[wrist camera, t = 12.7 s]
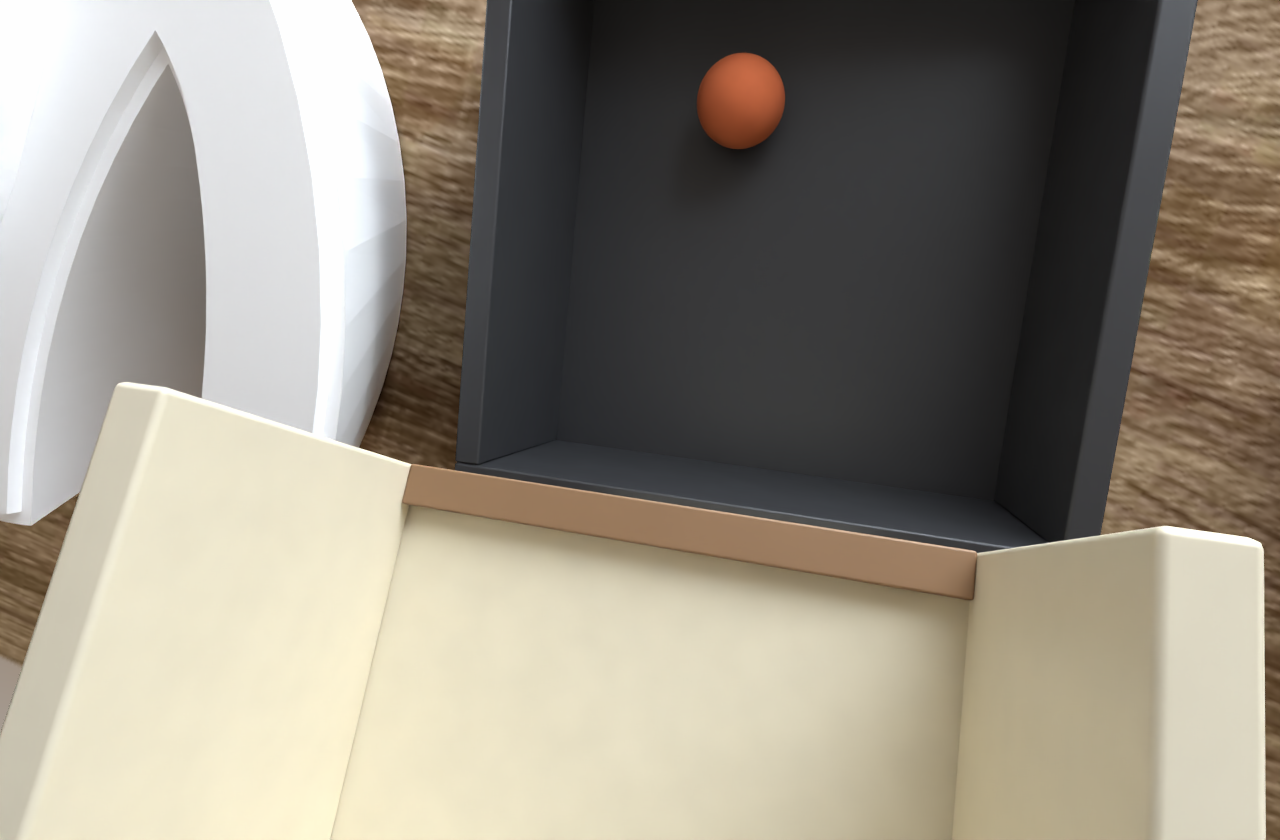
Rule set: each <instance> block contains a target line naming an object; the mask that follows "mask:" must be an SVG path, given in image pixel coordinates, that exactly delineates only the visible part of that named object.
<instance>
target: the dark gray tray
mask: <svg viewBox="0 0 1280 840" xmlns="http://www.w3.org/2000/svg"><path fill="white" fill-rule="evenodd" d="M1197 1H1198V0H487V8H486V23H485V37H484V52H483V66H482V81H481V95H480V110H479V124H478V139H477V154H476V168H475V183H474V197H473V212H472V226H471V241H470V256H469V270H468V285H467V299H466V314H465V328H464V343H463V358H462V372H461V387H460V401H459V416H458V430H457V445H456V461H457V463H456V464H455V470H456V471H463V472H469V473H475V474H482V475H488V476H495V477H501V478H508V479H514V480H521V481H527V482H534V483H540V484H547V485H553V486H559V487H566V488H572V489H579V490H585V491H592V492H598V493H605V494H611V495H618V496H624V497H631V498H637V499H644V500H650V501H656V502H663V503H669V504H676V505H682V506H689V507H695V508H702V509H708V510H715V511H721V512H728V513H734V514H740V515H747V516H753V517H760V518H766V519H773V520H779V521H786V522H792V523H799V524H805V525H812V526H818V527H824V528H831V529H837V530H844V531H850V532H857V533H863V534H870V535H876V536H883V537H889V538H896V539H902V540H909V541H915V542H921V543H928V544H934V545H941V546H947V547H954V548H960V549H967V550H973V551H976V552H977V553H982V552H989V551H996V550H1003V549H1009V548H1016V547H1023V546H1030V545H1037V544H1044V543H1051V542H1058V541H1064V540H1071V539H1078V538H1085V537H1092V536H1099V535H1100V534H1101V528H1102V523H1103V517H1104V512H1105V506H1106V501H1107V495H1108V490H1109V484H1110V479H1111V473H1112V468H1113V462H1114V457H1115V451H1116V446H1117V440H1118V435H1119V429H1120V424H1121V418H1122V413H1123V407H1124V402H1125V396H1126V391H1127V385H1128V380H1129V374H1130V369H1131V363H1132V358H1133V352H1134V347H1135V341H1136V336H1137V330H1138V325H1139V319H1140V314H1141V308H1142V303H1143V297H1144V292H1145V286H1146V281H1147V275H1148V270H1149V264H1150V259H1151V253H1152V248H1153V242H1154V237H1155V231H1156V226H1157V220H1158V215H1159V209H1160V204H1161V199H1162V193H1163V188H1164V182H1165V177H1166V171H1167V166H1168V160H1169V155H1170V149H1171V144H1172V138H1173V133H1174V127H1175V122H1176V116H1177V111H1178V105H1179V100H1180V94H1181V89H1182V83H1183V78H1184V72H1185V67H1186V61H1187V56H1188V50H1189V45H1190V39H1191V34H1192V28H1193V23H1194V17H1195V12H1196V6H1197ZM735 53H752V54H755V55H758V56H761V57H762V58H764V59H766V60H767V61H769V62H770V63H771V64H772V65H773V66H774V67H775V69H776V70H777V71H778V73H779V75H780V77H781V79H782V82H783V85H784V90H785V106H784V111H783V114H782V117H781V120H780V122H779V124H778V125H777V127H776V128H775V130H774V131H773V132H772V134H771V135H770V136H769V137H768V138H766V139H765V140H764V141H763V142H761V143H759V144H757V145H755V146H753V147H750V148H745V149H731V148H727V147H724V146H722V145H720V144H718V143H716V142H715V141H714V140H712V139H711V138H710V137H709V136H708V135H707V133H706V132H705V131H704V129H703V127H702V125H701V123H700V120H699V117H698V113H697V95H698V90H699V87H700V84H701V82H702V80H703V78H704V76H705V75H706V73H707V72H708V70H709V69H710V68H711V67H712V66H713V65H714V64H715V63H716V62H718V61H719V60H721V59H722V58H724V57H726V56H729V55H732V54H735Z"/></svg>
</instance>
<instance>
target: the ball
mask: <svg viewBox="0 0 1280 840" xmlns="http://www.w3.org/2000/svg"><path fill="white" fill-rule="evenodd" d="M784 106H785V90H784V85H783V82H782V79H781V77H780V75H779V73H778V71H777V70H776V69H775V67H774V66H773V65H772V64H771V63H770V62H769V61H767V60H766V59H764V58H762V57H761V56H758V55H755V54H752V53H735V54H732V55H729V56H726V57H724V58H722V59H721V60H719V61H718V62H716V63H715V64H714V65H713V66H712V67H711V68H710V69H709V70H708V72H707V73H706V75H705V76H704V78H703V80H702V82H701V84H700V87H699V90H698V95H697V113H698V117H699V120H700V123H701V125H702V127H703V129H704V131H705V132H706V133H707V135H708V136H709V137H710V138H711V139H712V140H714V141H715V142H716V143H718V144H720V145H722V146H724V147H727V148H731V149H745V148H750V147H753V146H755V145H757V144H759V143H761V142H763V141H764V140H765V139H766V138H768V137H769V136H770V135H771V134H772V132H773V131H774V130H775V128H776V127H777V125H778V124H779V122H780V120H781V117H782V114H783V111H784Z"/></svg>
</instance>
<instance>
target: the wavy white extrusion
mask: <svg viewBox="0 0 1280 840" xmlns="http://www.w3.org/2000/svg"><path fill="white" fill-rule="evenodd" d="M406 234H407V215H406V197H405V180H404V172H403V165H402V157H401V149H400V142H399V137H398V132H397V128H396V123H395V118H394V113H393V108H392V104H391V101H390V97H389V94H388V90H387V87H386V83H385V80H384V77H383V73H382V70H381V67H380V64H379V62H378V59H377V57H376V54H375V51H374V49H373V46H372V43H371V41H370V38H369V36H368V34H367V31H366V29H365V27H364V25H363V23H362V21H361V19H360V17H359V15H358V13H357V11H356V9H355V7H354V5H353V3H352V1H351V0H0V520H1V521H5V522H9V523H14V524H21V525H29V526H31V525H33V524H34V523H36V522H37V521H39V520H40V519H42V518H43V517H44V516H46V515H47V514H49V513H50V512H52V511H53V510H55V509H56V508H58V507H59V506H60V505H62V504H63V503H65V502H66V501H68V500H69V499H71V498H72V497H74V496H75V495H76V494H78V493H79V492H80V491H81V488H82V485H83V481H84V478H85V475H86V472H87V469H88V466H89V463H90V460H91V457H92V454H93V451H94V448H95V445H96V442H97V439H98V436H99V433H100V430H101V427H102V424H103V421H104V418H105V415H106V412H107V409H108V406H109V403H110V400H111V397H112V394H113V391H114V388H115V386H116V385H117V384H118V383H122V382H131V383H138V384H145V385H153V386H160V387H166V388H170V389H173V390H176V391H179V392H182V393H186V394H189V395H192V396H195V397H198V398H202V399H205V400H208V401H211V402H214V403H218V404H221V405H224V406H227V407H230V408H233V409H237V410H240V411H243V412H246V413H249V414H253V415H256V416H259V417H262V418H265V419H269V420H272V421H275V422H278V423H281V424H284V425H288V426H291V427H294V428H297V429H300V430H304V431H307V432H310V433H313V434H316V435H320V436H323V437H326V438H329V439H332V440H336V441H339V442H342V443H345V444H348V445H351V446H355V447H358V448H359V447H360V444H361V442H362V439H363V437H364V435H365V432H366V430H367V428H368V425H369V423H370V420H371V418H372V415H373V412H374V409H375V407H376V404H377V401H378V398H379V395H380V393H381V390H382V387H383V384H384V380H385V377H386V373H387V370H388V366H389V363H390V359H391V356H392V351H393V347H394V342H395V337H396V333H397V328H398V323H399V316H400V310H401V303H402V296H403V288H404V277H405V265H406Z"/></svg>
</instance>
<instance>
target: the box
mask: <svg viewBox="0 0 1280 840" xmlns="http://www.w3.org/2000/svg"><path fill="white" fill-rule="evenodd" d="M0 840H1266V800H1265V649H1264V549H1263V547H1262V545H1261V543H1260V542H1257V541H1255V540H1253V539H1251V538H1249V537H1243V536H1236V535H1228V534H1221V533H1214V532H1207V531H1200V530H1192V529H1185V528H1178V527H1171V526H1161V527H1154V528H1147V529H1140V530H1133V531H1126V532H1119V533H1113V534H1106V535H1099V536H1092V537H1085V538H1078V539H1071V540H1064V541H1058V542H1051V543H1044V544H1037V545H1030V546H1023V547H1016V548H1009V549H1003V550H996V551H989V552H982V553H977V552H976V551H973V550H967V549H960V548H954V547H947V546H941V545H934V544H928V543H921V542H915V541H909V540H902V539H896V538H889V537H883V536H876V535H870V534H863V533H857V532H850V531H844V530H837V529H831V528H824V527H818V526H812V525H805V524H799V523H792V522H786V521H779V520H773V519H766V518H760V517H753V516H747V515H740V514H734V513H728V512H721V511H715V510H708V509H702V508H695V507H689V506H682V505H676V504H669V503H663V502H656V501H650V500H644V499H637V498H631V497H624V496H618V495H611V494H605V493H598V492H592V491H585V490H579V489H572V488H566V487H559V486H553V485H547V484H540V483H534V482H527V481H521V480H514V479H508V478H501V477H495V476H488V475H482V474H475V473H469V472H463V471H456V470H450V469H443V468H437V467H430V466H424V465H417V464H409V463H406V462H402V461H399V460H396V459H393V458H390V457H387V456H383V455H380V454H377V453H374V452H371V451H367V450H364V449H361V448H358V447H355V446H351V445H348V444H345V443H342V442H339V441H336V440H332V439H329V438H326V437H323V436H320V435H316V434H313V433H310V432H307V431H304V430H300V429H297V428H294V427H291V426H288V425H284V424H281V423H278V422H275V421H272V420H269V419H265V418H262V417H259V416H256V415H253V414H249V413H246V412H243V411H240V410H237V409H233V408H230V407H227V406H224V405H221V404H218V403H214V402H211V401H208V400H205V399H202V398H198V397H195V396H192V395H189V394H186V393H182V392H179V391H176V390H173V389H170V388H166V387H160V386H153V385H145V384H138V383H131V382H122V383H118V384H117V385H116V386H115V388H114V391H113V394H112V397H111V400H110V403H109V406H108V409H107V412H106V415H105V418H104V421H103V424H102V427H101V430H100V433H99V436H98V439H97V442H96V445H95V448H94V451H93V454H92V457H91V460H90V463H89V466H88V469H87V472H86V475H85V478H84V481H83V485H82V488H81V491H80V494H79V497H78V500H77V503H76V506H75V509H74V512H73V515H72V518H71V521H70V524H69V527H68V530H67V533H66V536H65V539H64V542H63V545H62V548H61V551H60V554H59V557H58V560H57V563H56V566H55V569H54V572H53V575H52V578H51V581H50V584H49V587H48V590H47V593H46V596H45V599H44V602H43V605H42V608H41V611H40V614H39V617H38V620H37V623H36V627H35V630H34V633H33V636H32V639H31V642H30V645H29V648H28V651H27V654H26V657H25V660H24V663H23V666H22V669H21V672H20V675H19V678H18V681H17V684H16V687H15V690H14V693H13V696H12V699H11V702H10V705H9V708H8V711H7V714H6V717H5V720H4V723H3V726H2V729H1V732H0Z"/></svg>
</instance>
